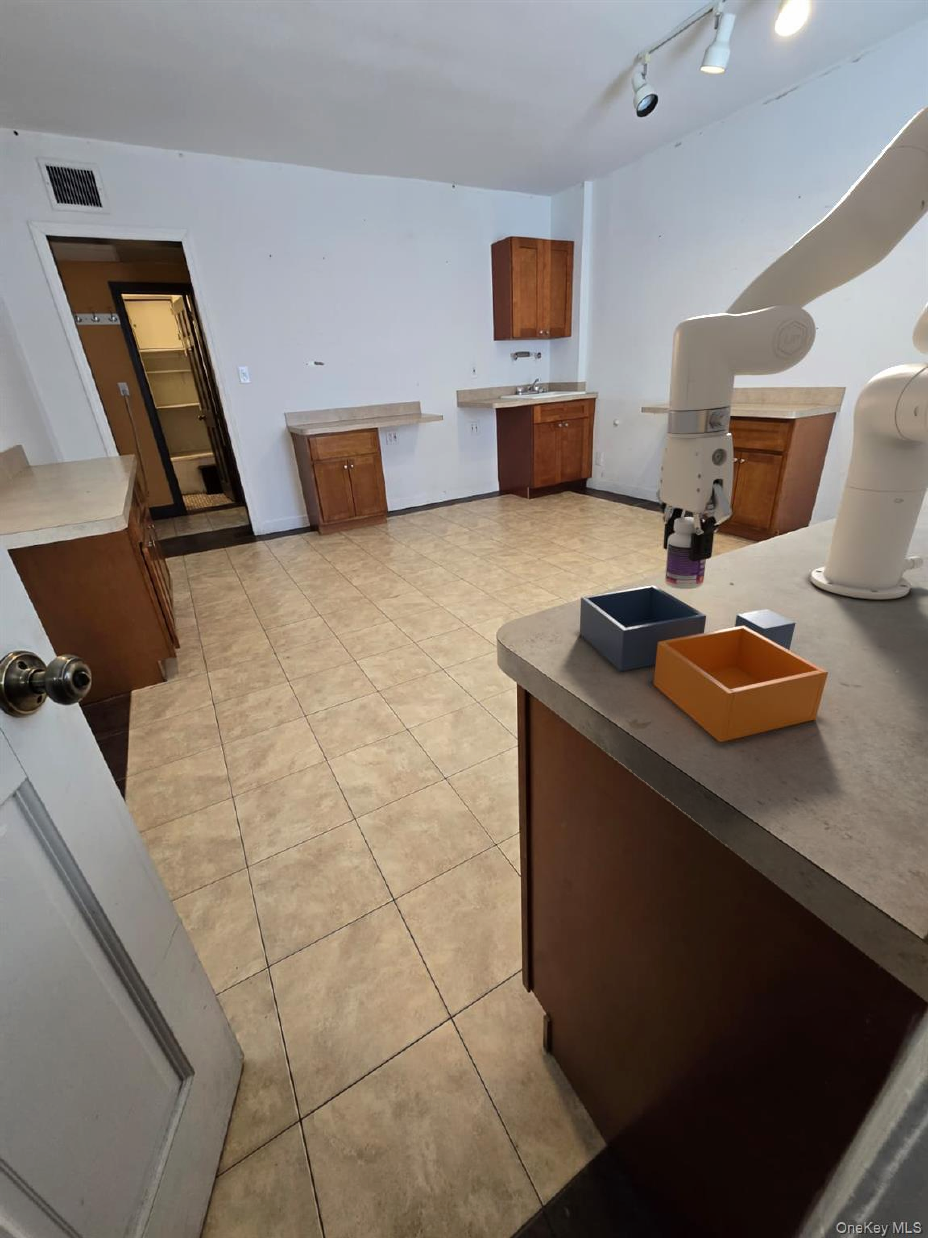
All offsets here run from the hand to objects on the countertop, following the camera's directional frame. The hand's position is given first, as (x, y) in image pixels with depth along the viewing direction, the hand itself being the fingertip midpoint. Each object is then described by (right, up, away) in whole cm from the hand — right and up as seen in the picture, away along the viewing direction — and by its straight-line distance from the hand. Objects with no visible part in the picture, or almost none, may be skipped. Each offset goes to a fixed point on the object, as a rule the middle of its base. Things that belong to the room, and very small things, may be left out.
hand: (686, 552), depth 75 cm
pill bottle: (+1, -5, +2) cm, 5 cm away
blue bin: (-10, -13, -7) cm, 18 cm away
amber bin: (-4, -19, -20) cm, 28 cm away
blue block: (+5, -14, -11) cm, 18 cm away
